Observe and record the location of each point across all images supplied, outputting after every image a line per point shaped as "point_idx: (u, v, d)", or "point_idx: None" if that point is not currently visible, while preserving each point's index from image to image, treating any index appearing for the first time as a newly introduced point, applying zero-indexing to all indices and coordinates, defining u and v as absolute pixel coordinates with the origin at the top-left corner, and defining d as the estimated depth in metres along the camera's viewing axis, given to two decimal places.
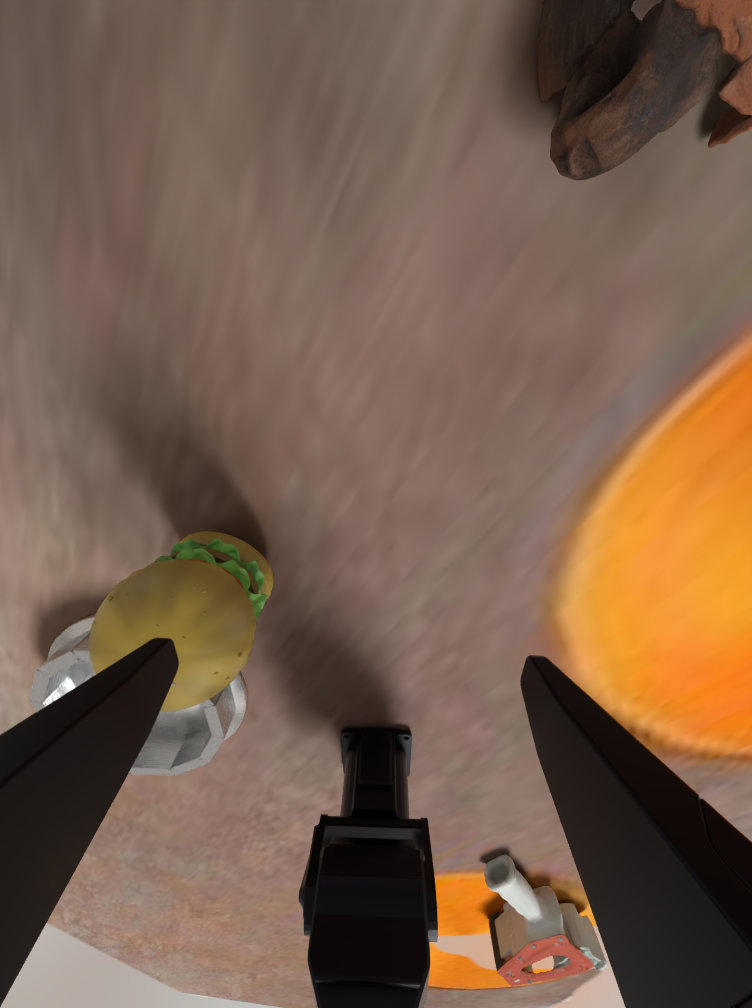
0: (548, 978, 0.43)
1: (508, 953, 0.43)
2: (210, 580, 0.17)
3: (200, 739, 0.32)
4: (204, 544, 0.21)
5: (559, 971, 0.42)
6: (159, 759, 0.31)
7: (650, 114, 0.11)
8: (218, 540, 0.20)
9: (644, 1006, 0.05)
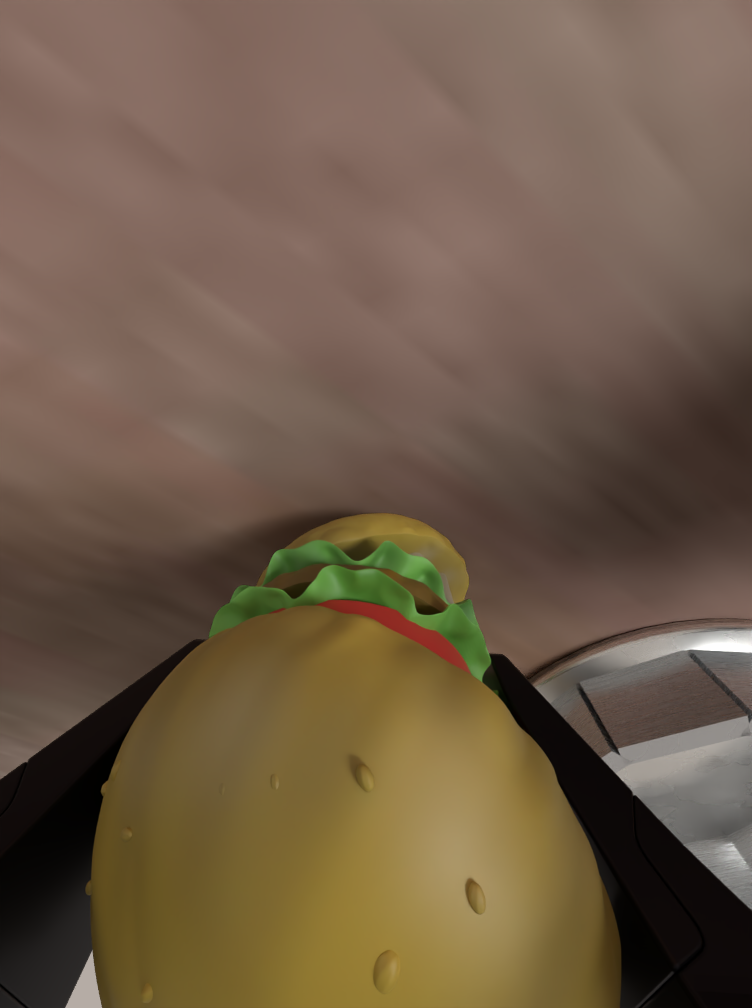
0: None
1: None
2: (135, 720, 0.05)
3: None
4: None
5: None
6: None
7: None
8: None
9: None
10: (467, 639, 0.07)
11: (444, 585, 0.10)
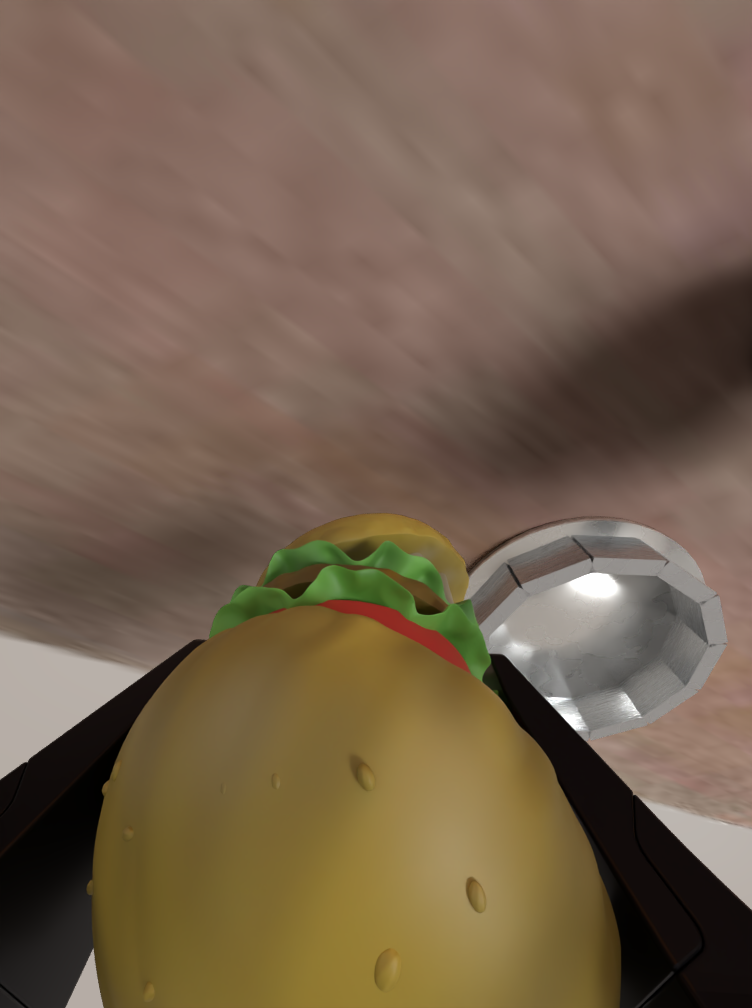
0: None
1: None
2: (136, 720, 0.05)
3: (678, 596, 0.21)
4: None
5: None
6: (690, 652, 0.22)
7: None
8: None
9: None
10: (467, 639, 0.07)
11: (443, 586, 0.10)
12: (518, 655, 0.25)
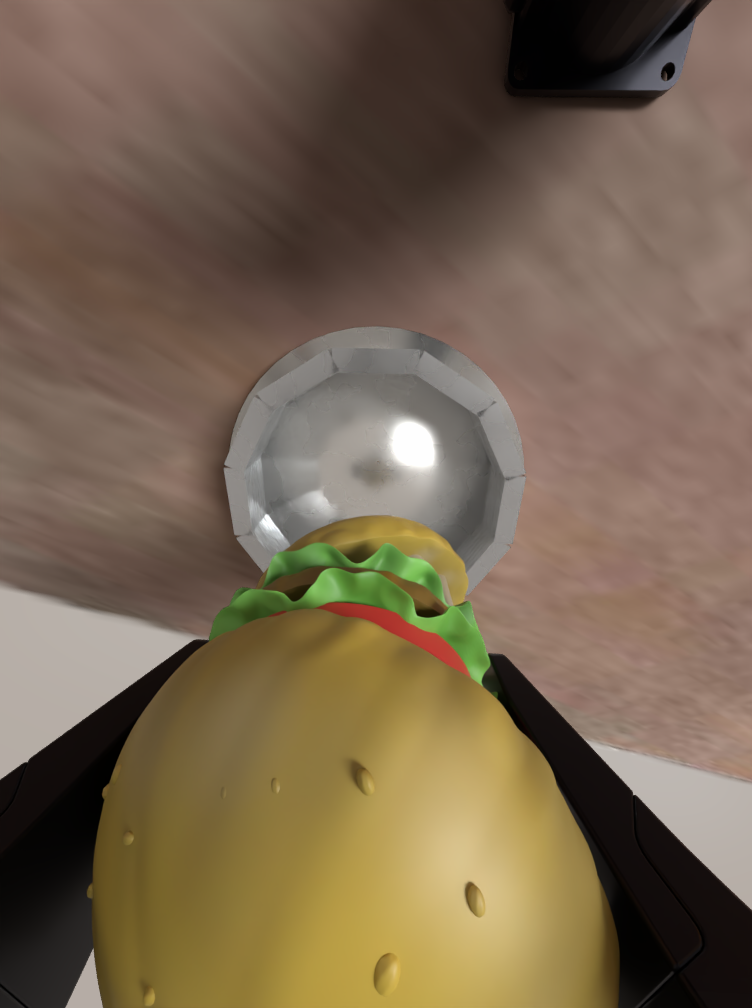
0: None
1: None
2: (136, 723, 0.05)
3: (477, 428, 0.18)
4: None
5: None
6: (496, 498, 0.18)
7: None
8: None
9: None
10: (467, 641, 0.07)
11: (443, 587, 0.10)
12: (322, 524, 0.21)
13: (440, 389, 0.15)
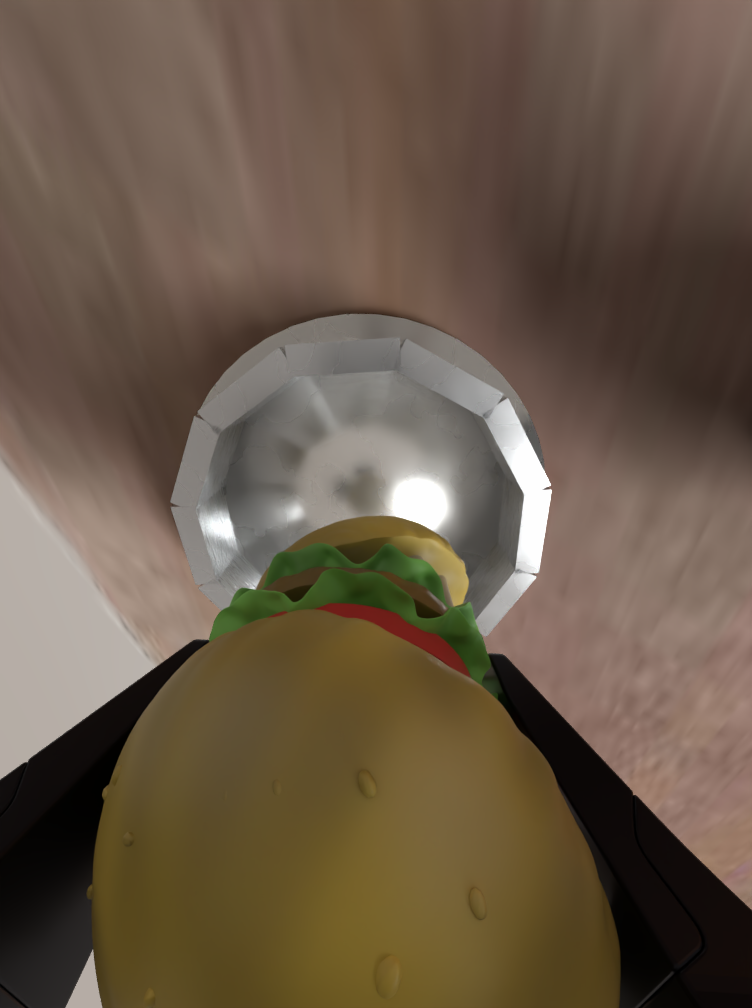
0: None
1: None
2: (136, 724, 0.05)
3: (489, 564, 0.17)
4: None
5: None
6: None
7: None
8: None
9: None
10: (467, 642, 0.07)
11: (443, 588, 0.10)
12: (283, 488, 0.16)
13: (522, 525, 0.14)
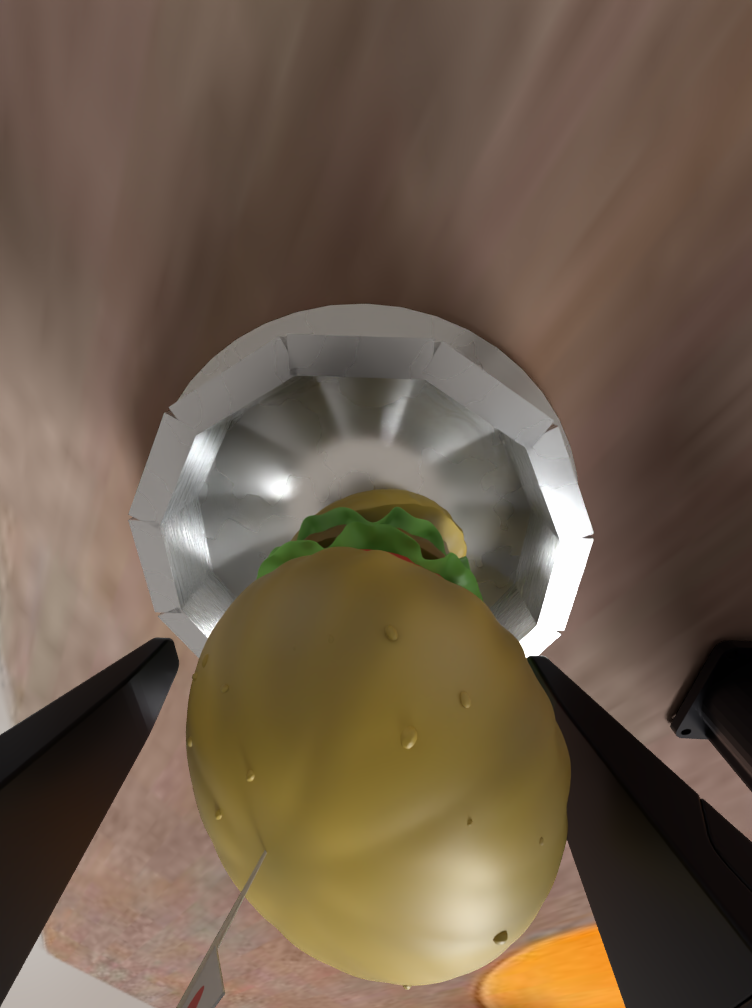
0: None
1: None
2: (212, 632, 0.07)
3: None
4: None
5: None
6: None
7: None
8: None
9: (644, 1006, 0.05)
10: (464, 583, 0.09)
11: (445, 550, 0.11)
12: (300, 466, 0.13)
13: None
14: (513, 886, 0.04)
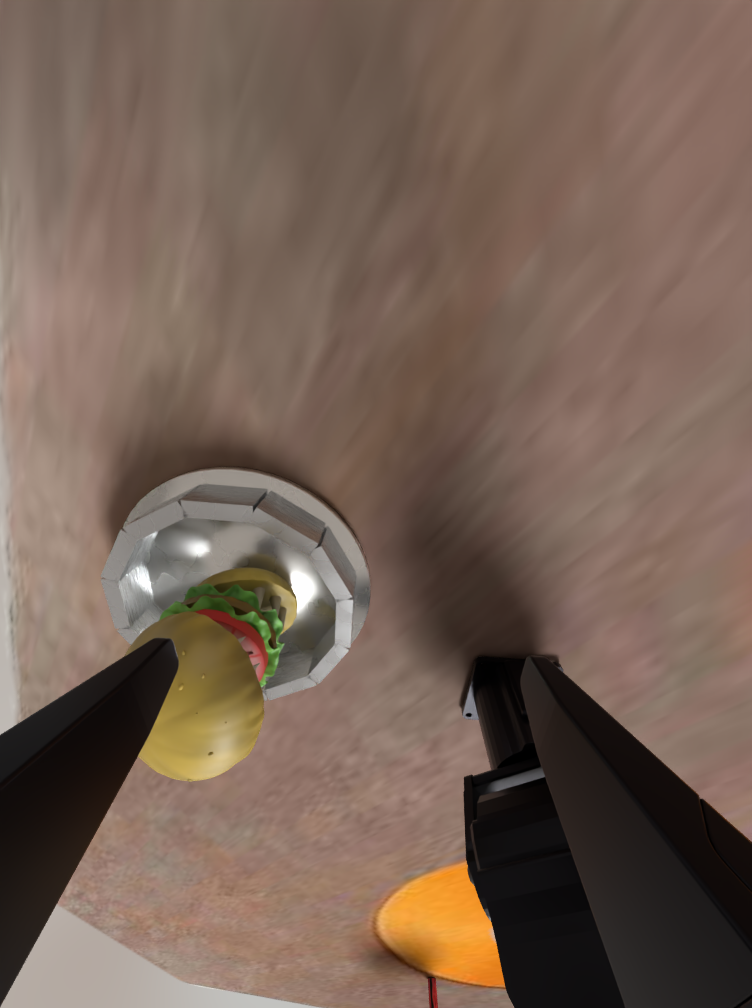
0: None
1: None
2: (130, 647, 0.16)
3: (300, 658, 0.25)
4: None
5: None
6: None
7: None
8: None
9: (644, 1006, 0.05)
10: (261, 625, 0.18)
11: (276, 602, 0.21)
12: (204, 546, 0.22)
13: (324, 657, 0.22)
14: (213, 736, 0.14)
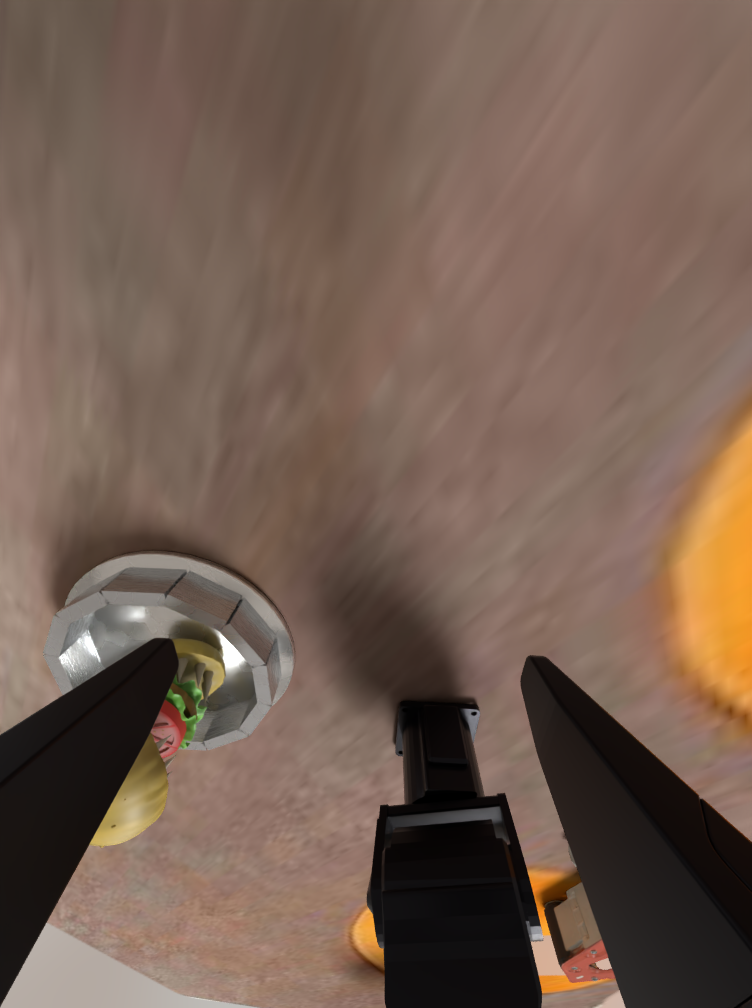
0: None
1: (577, 945, 0.38)
2: None
3: (237, 709, 0.27)
4: None
5: None
6: None
7: None
8: None
9: (644, 1006, 0.05)
10: (175, 698, 0.21)
11: (199, 669, 0.23)
12: (139, 617, 0.25)
13: (250, 713, 0.25)
14: (113, 812, 0.16)
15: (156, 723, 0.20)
